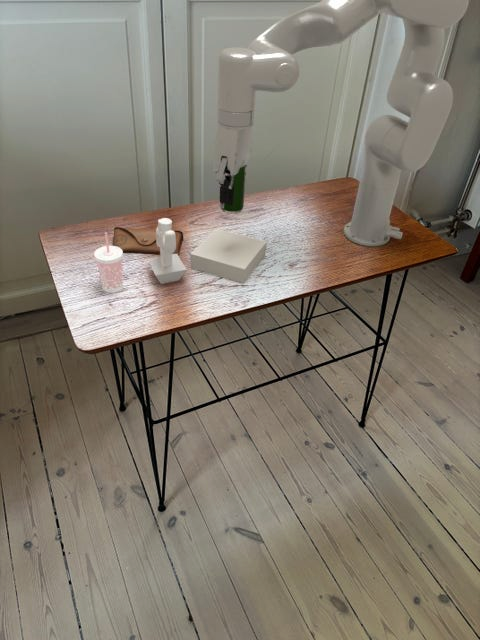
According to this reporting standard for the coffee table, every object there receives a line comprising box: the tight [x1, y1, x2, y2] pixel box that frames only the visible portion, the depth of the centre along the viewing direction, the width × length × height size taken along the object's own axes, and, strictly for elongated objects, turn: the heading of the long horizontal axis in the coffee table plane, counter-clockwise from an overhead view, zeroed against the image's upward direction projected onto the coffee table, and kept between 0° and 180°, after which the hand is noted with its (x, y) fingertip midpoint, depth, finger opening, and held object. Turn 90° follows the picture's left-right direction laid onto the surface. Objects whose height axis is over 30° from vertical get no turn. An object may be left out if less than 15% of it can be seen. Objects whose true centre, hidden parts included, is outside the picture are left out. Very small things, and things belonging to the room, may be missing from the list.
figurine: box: [147, 217, 187, 285], centre depth 116 cm, size 7×9×15 cm
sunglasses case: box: [111, 226, 184, 257], centre depth 130 cm, size 18×7×7 cm, turn 91°
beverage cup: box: [93, 231, 124, 294], centre depth 112 cm, size 6×6×14 cm
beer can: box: [219, 160, 247, 215], centre depth 114 cm, size 5×5×12 cm
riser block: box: [189, 227, 267, 284], centre depth 126 cm, size 14×14×4 cm
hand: (232, 197), depth 116 cm, fingers closed on beer can, 5 cm apart
